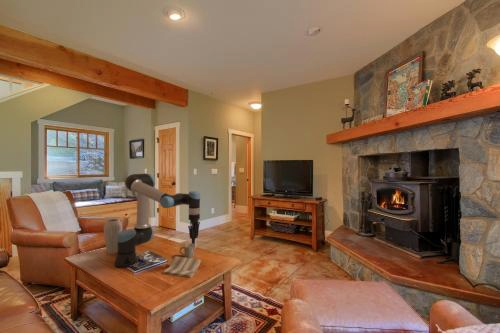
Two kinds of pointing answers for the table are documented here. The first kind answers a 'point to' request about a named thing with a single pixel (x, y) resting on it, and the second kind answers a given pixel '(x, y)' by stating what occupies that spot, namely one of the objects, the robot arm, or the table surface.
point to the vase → (112, 235)
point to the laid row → (179, 272)
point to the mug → (188, 251)
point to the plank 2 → (191, 264)
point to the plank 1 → (178, 263)
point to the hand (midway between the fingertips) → (193, 247)
